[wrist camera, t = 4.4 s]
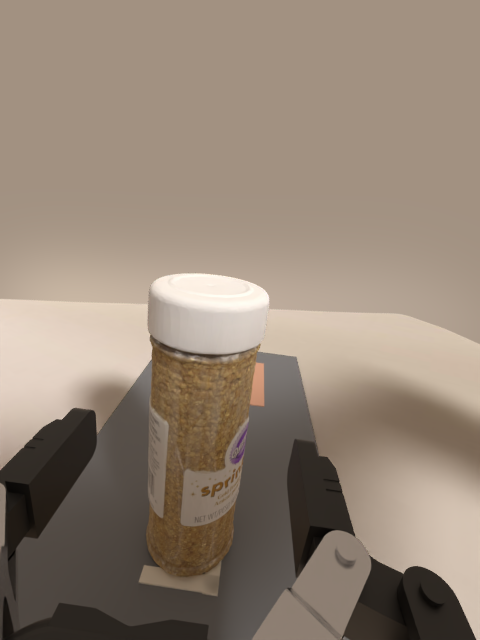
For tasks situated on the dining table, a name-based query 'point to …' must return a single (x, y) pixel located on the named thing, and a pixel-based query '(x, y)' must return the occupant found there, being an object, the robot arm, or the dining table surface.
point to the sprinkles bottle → (199, 413)
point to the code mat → (133, 516)
